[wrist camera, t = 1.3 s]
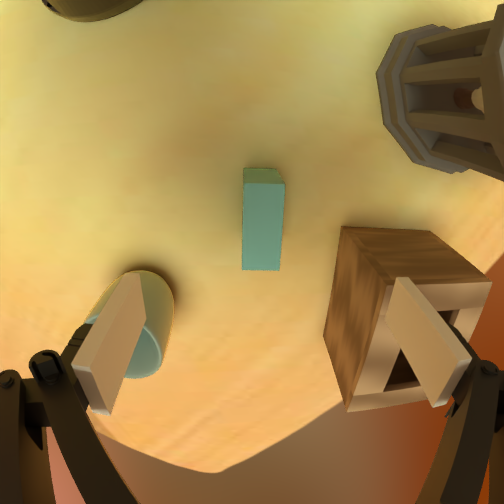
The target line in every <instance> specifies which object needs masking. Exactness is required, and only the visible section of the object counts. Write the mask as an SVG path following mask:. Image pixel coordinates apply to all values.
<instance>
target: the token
mask: <svg viewBox="0 0 504 504" xmlns="http://www.w3.org/2000/svg"><path fill="white" fill-rule="evenodd" d="M284 196H285V183H284V182H283V180H282V178H281V176H280V175H279V173H278V171H277V170H276V169H265V168H244V179H243V222H242V270H277V271H279V269H280V255H281V241H282V227H283V212H284Z"/></svg>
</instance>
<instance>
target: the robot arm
mask: <svg viewBox="0 0 504 504" xmlns="http://www.w3.org/2000/svg"><path fill="white" fill-rule="evenodd" d="M141 1H142V0H42V2H43V3H44V5H45V6H46V7H47V8H48V9H49V10H50V11H52V12H53V13H55V14H57V15H59V16H62V17H64V18H66V19H69V20H72V21H78V22H91V21H97V20H102V19H106V18H109V17H112V16H115V15H117V14H119V13H122V12H124V11H126V10H128V9H130V8H131V7H133V6H135V5H136V4H138V3H139V2H141ZM146 319H147V318H146V313H145V307H144V301H143V294H142V288H141V281H140V274H139V273H125V274H124V276H123V277H122V279H121V280H120V282H119V283H118V285H117V287H116V288H115V290H114V291H113V293H112V295H111V296H110V298H109V299H108V301H107V303H106V304H105V306H104V308H103V309H102V311H101V312H100V314H99V316H98V317H97V319H96V321H95V323H94V324H88V323H84V324H83V325H82V326H81V327H79V328H78V329H77V330H76V331H75V333H74V334H73V336H72V339H70V341H69V343H68V346H66V347H65V349H64V351H63V352H62V354H61V356H59V354H58V353H57V352H55V351H53V350H43V351H40V352H38V353H36V354H35V355H34V356H33V357H32V358H31V359H30V361H29V369H30V371H31V373H32V375H33V377H34V378H29V379H22V378H21V376H20V375H19V373H18V372H17V371H15V370H5V371H2V372H1V373H0V504H56V501H55V496H54V490H53V484H52V478H51V471H50V463H49V455H48V446H47V434H46V427H52V430H53V433H54V435H55V438H56V440H57V443H58V445H59V448H60V450H61V453H62V455H63V457H64V460H65V462H66V464H67V466H68V468H69V470H70V473H71V475H72V477H73V479H74V481H75V483H76V485H77V487H78V489H79V491H80V493H81V495H82V497H83V499H84V501H85V503H86V504H140V502H139V501H138V500H137V498H136V497H135V496H134V494H133V493H132V491H131V490H130V488H129V486H128V485H127V483H126V482H125V480H124V479H123V477H122V476H121V474H120V472H119V471H118V469H117V468H116V466H115V464H114V463H113V461H112V459H111V458H110V456H109V454H108V452H107V451H106V449H105V447H104V445H103V444H102V442H101V440H100V438H99V436H98V434H97V433H96V431H95V429H94V427H93V425H92V423H91V421H90V419H89V417H88V415H87V413H86V410H87V407H88V405H90V407H91V409H92V411H93V413H97V414H103V415H108V416H110V415H111V412H112V409H113V406H114V404H115V401H116V398H117V395H118V392H119V389H120V387H121V384H122V381H123V378H124V376H125V373H126V370H127V367H128V365H129V362H130V359H131V357H132V354H133V352H134V349H135V346H136V344H137V341H138V339H139V336H140V334H141V331H142V329H143V326H144V324H145V321H146ZM385 322H386V323H387V325H388V327H389V328H390V330H391V332H392V334H393V335H394V337H395V339H396V341H397V342H398V344H399V346H400V348H401V349H402V351H403V353H404V355H405V357H406V358H407V360H408V362H409V364H410V366H411V368H412V369H413V371H414V373H415V375H416V377H417V379H418V381H419V383H420V384H421V386H422V388H423V390H424V392H425V394H426V396H427V398H428V400H429V402H430V404H431V406H432V407H436V406H441V405H445V404H446V403H447V401H448V400H449V398H450V397H451V395H452V396H453V398H454V400H455V401H454V403H453V404H452V406H451V407H450V409H449V410H448V412H447V413H446V415H445V417H447V416H448V415H449V417H448V420H447V423H446V427H445V430H444V433H443V436H442V439H441V441H440V444H439V447H438V450H437V453H436V455H435V458H434V461H433V463H432V466H431V468H430V471H429V473H428V476H427V478H426V481H425V483H424V485H423V488H422V490H421V492H420V494H419V496H418V499H417V501H416V503H415V504H477V501H478V498H479V495H480V491H481V488H482V484H483V480H484V476H485V472H486V468H487V464H488V459H489V504H504V371H501V370H499V369H498V367H497V366H496V365H495V364H494V363H492V362H490V361H487V360H481V359H480V358H479V357H478V356H477V354H476V353H475V351H474V350H473V349H472V347H471V346H470V345H469V343H467V341H466V339H465V338H464V337H463V336H462V334H461V333H460V332H459V330H458V329H457V328H455V327H454V326H453V325H451V324H450V323H445V321H444V320H443V319H442V317H441V316H440V315H439V314H438V312H437V311H436V310H435V309H434V307H433V306H432V305H431V304H430V302H429V301H428V300H427V299H426V298H425V296H424V295H423V294H422V293H421V291H420V290H419V289H418V288H417V287H416V286H415V284H414V283H413V282H412V281H411V280H410V278H409V277H396V281H395V284H394V288H393V292H392V296H391V299H390V303H389V306H388V310H387V313H386V316H385Z"/></svg>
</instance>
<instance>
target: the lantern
mask: <svg viewBox="0 0 504 504" xmlns="http://www.w3.org/2000/svg"><path fill="white" fill-rule="evenodd" d="M376 78H377V83H378V89H379V96H380V102H381V109H382V117H383V124H384V126H385V127H386V128H387V129H388V131H389V132H390V133H391V134H392V136H393V137H394V138H395V139H396V141H397V142H398V143H399V145H400V146H401V147H402V149H403V150H404V151H405V152H406V154H407V155H408V157H409V158H410V159H411V161H412V162H413V163H416V164H419V165H423V166H426V167H430V168H433V169H437V170H440V171H443V172H446V173H450V174H453V173H455V172H460V173H462V172H464V171H466V170H468V169H472V170H475V171H478V172H480V173H483V174H486V175H488V176H491V177H493V178H496V179H498V180H501V181H503V182H504V4H500V5H498V6H497V10H496V13H495V16H494V20H491V21H486V22H482V23H478V24H474V25H469V26H465V27H462V28H458V29H454V30H451V29H449V28H447V27H445V26H440V27H438V26H436V25H433V24H431V25H427V26H424V27H420V28H416V29H413V30H409V31H406V32H402V33H399V34H396V35H395V36H394V38H393V40H392V42H391V44H390V46H389V48H388V50H387V52H386V54H385V56H384V58H383V60H382V62H381V64H380V66H379V68H378V70H377V72H376Z"/></svg>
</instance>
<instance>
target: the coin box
mask: <svg viewBox="0 0 504 504" xmlns="http://www.w3.org/2000/svg"><path fill="white" fill-rule="evenodd" d="M396 277H409V278H410V280H411V281H412V282H413V283H414V284H415V286H416V287H417V288H418V289H419V290H420V291H421V293H422V294H423V295H424V296H425V298H426V299H427V300H428V301H429V302H430V304H431V305H432V306H433V307H434V309H435V310H436V311H437V312H438V314H439V315H440V316H441V317H442V319H443V320H444V321H445V323H450V324H451V325H453V326H454V327H455V328H457V329H458V330H459V332H460V333H461V334H462V336H463V337H464V338H465V339H466V341H467V343H468V342H469V340H470V337H471V335H472V333H473V331H474V328H475V326H476V324H477V321H478V319H479V316H480V314H481V311H482V309H483V306H484V304H485V301H486V299H487V296H488V293H489V290H490V288H491V285H492V281H491V280H490V279H489V278H488V277H486V276H485V275H484V274H483V273H482V272H481V271H479V270H478V269H477V268H476V267H475V266H474V265H472V264H471V263H470V262H469V261H467V260H466V259H465V258H464V257H463V256H461V255H460V254H459V253H458V252H456V251H455V250H454V249H453V248H451V247H450V246H449V245H448V244H446V243H445V242H444V241H442V240H441V239H440V238H439V237H437V236H436V235H435V234H433V233H432V232H431V231H423V230H405V229H386V228H364V227H341V233H340V240H339V247H338V254H337V261H336V267H335V273H334V279H333V285H332V291H331V297H330V303H329V308H328V314H327V319H326V324H325V329H324V334H323V337H324V340H325V343H326V346H327V350H328V353H329V356H330V359H331V362H332V365H333V369H334V372H335V375H336V378H337V382H338V385H339V388H340V391H341V395H342V398H343V401H344V405H345V408H346V412H352V411H361V410H369V409H376V408H383V407H389V406H395V405H400V404H406V403H411V402H416V401H422V400H426V399H428V398H427V396H426V394H425V392H424V390H423V388H422V386H421V384H420V383H419V381H418V379H417V377H416V375H415V373H414V371H413V369H412V368H411V366H410V364H409V362H408V360H407V358H406V357H405V355H404V353H403V351H402V349H401V348H400V346H399V344H398V342H397V341H396V339H395V337H394V335H393V334H392V332H391V330H390V328H389V327H388V325H387V323H386V322H385V316H386V313H387V310H388V306H389V303H390V299H391V296H392V292H393V288H394V284H395V281H396Z"/></svg>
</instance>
